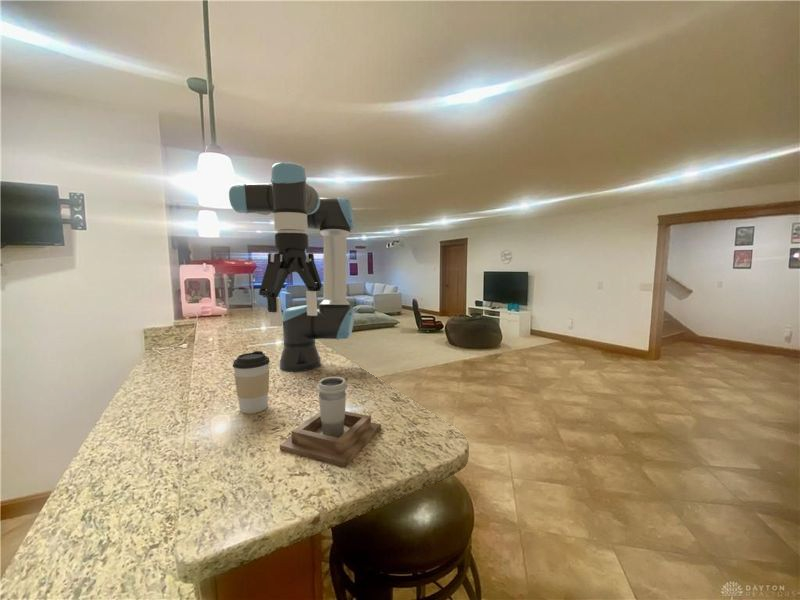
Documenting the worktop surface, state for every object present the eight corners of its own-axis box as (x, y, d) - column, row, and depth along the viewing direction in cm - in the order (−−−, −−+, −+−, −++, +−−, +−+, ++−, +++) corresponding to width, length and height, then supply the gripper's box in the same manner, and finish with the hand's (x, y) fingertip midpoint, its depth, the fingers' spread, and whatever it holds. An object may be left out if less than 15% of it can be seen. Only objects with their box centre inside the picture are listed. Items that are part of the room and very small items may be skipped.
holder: (324, 416, 82) (324, 403, 82) (380, 428, 76) (380, 414, 76) (279, 449, 68) (279, 433, 67) (344, 467, 62) (344, 450, 61)
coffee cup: (258, 416, 82) (255, 360, 81) (227, 413, 84) (224, 358, 82) (278, 402, 91) (276, 350, 89) (250, 399, 93) (247, 349, 91)
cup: (316, 427, 74) (315, 377, 73) (345, 423, 76) (344, 374, 75) (319, 443, 67) (317, 389, 66) (350, 438, 70) (349, 385, 68)
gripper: (309, 236, 89) (312, 311, 92) (236, 229, 66) (243, 329, 69) (333, 235, 87) (335, 312, 90) (265, 228, 63) (271, 332, 66)
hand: (295, 320), depth 79 cm, fingers open, 13 cm apart
